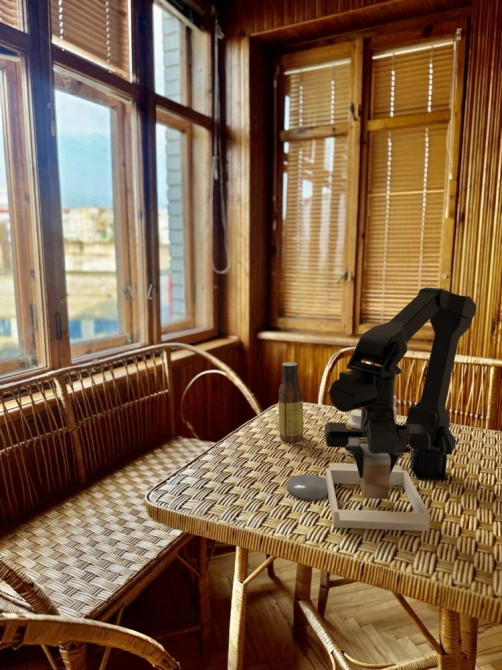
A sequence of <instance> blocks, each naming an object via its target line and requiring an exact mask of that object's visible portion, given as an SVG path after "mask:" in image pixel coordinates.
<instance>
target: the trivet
mask: <svg viewBox="0 0 502 670" xmlns="http://www.w3.org/2000/svg"><path fill="white" fill-rule="evenodd" d="M286 489H287V492H288V493H289V494H290V495H291V496H293V497H295V498H297V499H300V500H303V501H304V500H305V501H317V500H319V501H320V500H323V499H325V498H327V497H328V487H327V482H326V478H324V477H321V476H319V475H315V474H298V475H295V476H293V477H291V478H289V479H288V481H287V483H286Z"/></svg>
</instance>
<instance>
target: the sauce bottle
mask: <svg viewBox="0 0 502 670" xmlns="http://www.w3.org/2000/svg"><path fill="white" fill-rule="evenodd" d="M298 365H299V364H298V363H296V362H294V361H287V362H283V363H282V364H281V370H282V382H281V384H280V386H279V389H278V430H279V431H278V432H279V438H280V440H282V441H284V442H289V443H296V442H299V441H302V439H303V438H304V436H303V435H304V399H303V397H304V396H303V392H302V390H301V387H300V383H299V381H298V380H299V379H298V369H299V366H298Z"/></svg>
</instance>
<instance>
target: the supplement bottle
mask: <svg viewBox="0 0 502 670" xmlns="http://www.w3.org/2000/svg"><path fill="white" fill-rule="evenodd" d="M346 426H347V429H361V410H360V409H359V410H357V409H356V410H352V411H350V418H348V420H347V422H346ZM359 443H360V444H368V442H367V440H360V442H359ZM345 452H346V453H347V455H349V456H351V457H352V458H354V456H353V454H352V452H351V451H346V450H345Z"/></svg>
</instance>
